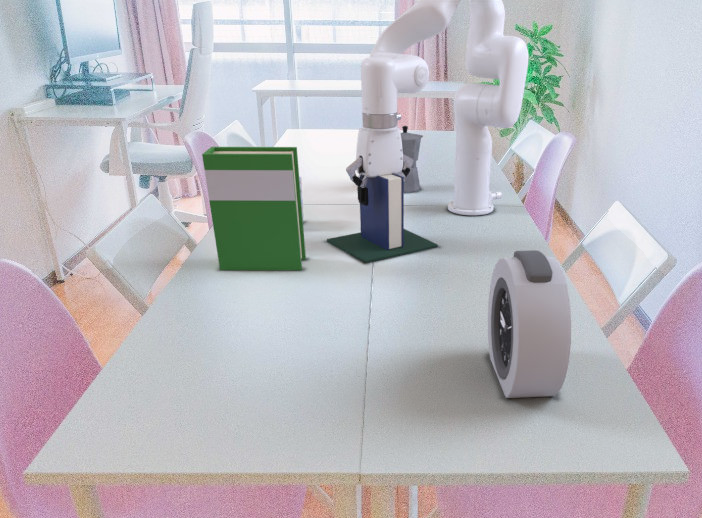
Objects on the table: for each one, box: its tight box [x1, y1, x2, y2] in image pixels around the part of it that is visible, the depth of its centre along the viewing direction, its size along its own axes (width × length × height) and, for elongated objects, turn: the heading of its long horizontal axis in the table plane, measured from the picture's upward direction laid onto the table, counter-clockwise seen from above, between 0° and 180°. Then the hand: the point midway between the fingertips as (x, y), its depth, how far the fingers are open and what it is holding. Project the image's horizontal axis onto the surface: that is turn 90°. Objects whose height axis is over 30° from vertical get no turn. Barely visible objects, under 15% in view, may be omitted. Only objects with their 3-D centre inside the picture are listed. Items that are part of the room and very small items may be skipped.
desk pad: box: [326, 228, 439, 264], centre depth 158 cm, size 20×18×1 cm
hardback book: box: [201, 146, 307, 271], centre depth 140 cm, size 18×7×24 cm, turn 90°
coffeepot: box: [400, 125, 424, 194], centre depth 196 cm, size 15×9×18 cm, turn 129°
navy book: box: [359, 173, 405, 250], centre depth 154 cm, size 4×12×16 cm, turn 34°
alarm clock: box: [487, 249, 572, 399], centre depth 100 cm, size 21×8×20 cm, turn 5°
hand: (381, 200), depth 153 cm, fingers open, 9 cm apart
